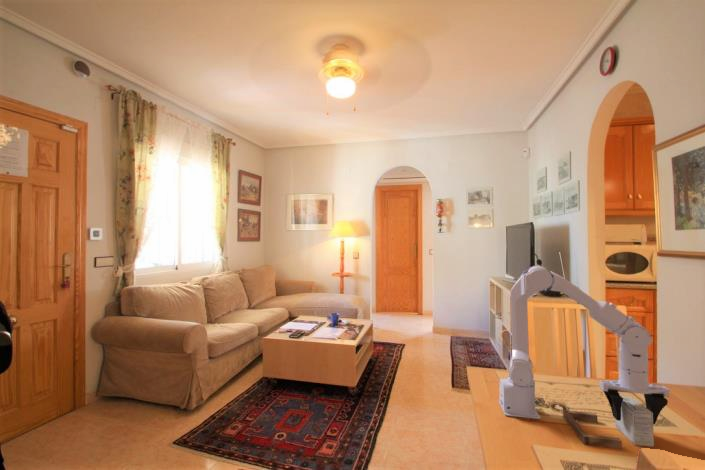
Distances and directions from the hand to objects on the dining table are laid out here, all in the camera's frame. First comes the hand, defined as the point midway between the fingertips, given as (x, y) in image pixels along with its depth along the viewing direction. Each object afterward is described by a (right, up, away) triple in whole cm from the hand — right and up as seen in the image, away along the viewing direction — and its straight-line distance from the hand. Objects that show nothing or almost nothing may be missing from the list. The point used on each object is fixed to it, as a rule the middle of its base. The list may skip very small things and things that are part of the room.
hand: (633, 420), depth 82 cm
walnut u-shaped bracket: (-10, -4, +2) cm, 11 cm away
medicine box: (0, -5, 0) cm, 5 cm away
